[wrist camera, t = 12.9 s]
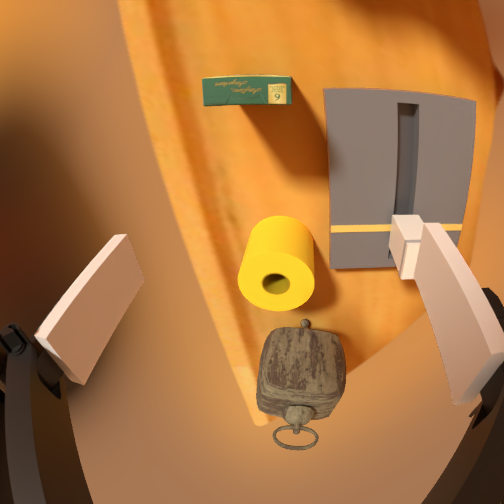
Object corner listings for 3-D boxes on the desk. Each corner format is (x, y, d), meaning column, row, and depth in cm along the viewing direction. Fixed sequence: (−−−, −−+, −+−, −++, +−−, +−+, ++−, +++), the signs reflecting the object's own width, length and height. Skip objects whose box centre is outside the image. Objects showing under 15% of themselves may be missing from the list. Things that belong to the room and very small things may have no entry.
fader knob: (387, 205, 39) (407, 245, 30) (412, 205, 38) (437, 244, 30) (384, 236, 42) (400, 279, 33) (408, 236, 41) (429, 278, 32)
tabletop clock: (264, 336, 59) (244, 451, 39) (268, 305, 54) (246, 434, 34) (333, 344, 58) (333, 458, 38) (345, 315, 53) (352, 442, 32)
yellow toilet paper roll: (288, 203, 42) (285, 238, 34) (325, 252, 46) (328, 292, 38) (236, 236, 47) (222, 274, 39) (274, 278, 50) (268, 319, 43)
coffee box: (294, 74, 32) (292, 75, 21) (294, 96, 33) (292, 107, 23) (230, 74, 33) (197, 76, 22) (231, 95, 34) (199, 107, 24)
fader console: (322, 88, 32) (324, 89, 30) (467, 98, 28) (476, 101, 26) (329, 259, 46) (330, 269, 44) (446, 255, 42) (452, 265, 40)
